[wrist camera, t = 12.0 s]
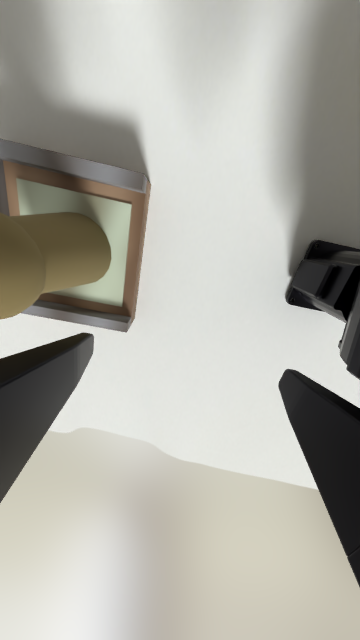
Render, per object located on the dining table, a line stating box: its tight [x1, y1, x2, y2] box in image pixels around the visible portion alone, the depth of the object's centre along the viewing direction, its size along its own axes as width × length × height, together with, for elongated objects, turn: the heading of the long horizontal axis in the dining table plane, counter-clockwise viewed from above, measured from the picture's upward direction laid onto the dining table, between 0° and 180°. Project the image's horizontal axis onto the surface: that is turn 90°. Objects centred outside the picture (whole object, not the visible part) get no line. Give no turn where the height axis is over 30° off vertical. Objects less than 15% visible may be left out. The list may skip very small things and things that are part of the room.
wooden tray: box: [0, 139, 151, 332], centre depth 18 cm, size 12×13×4 cm
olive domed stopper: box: [0, 212, 111, 319], centre depth 12 cm, size 6×6×11 cm
